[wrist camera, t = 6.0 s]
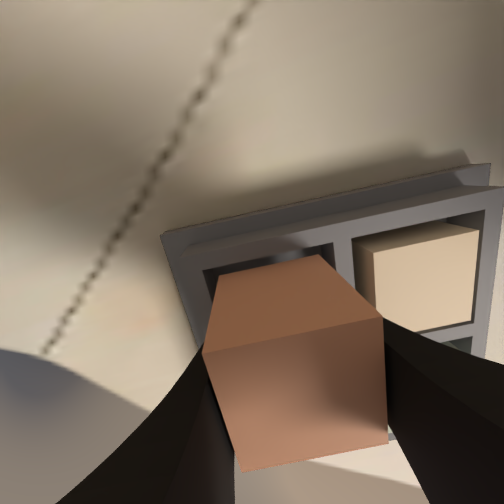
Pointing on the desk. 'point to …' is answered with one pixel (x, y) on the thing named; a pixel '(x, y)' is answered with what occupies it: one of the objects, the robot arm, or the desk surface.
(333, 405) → the terracotta block
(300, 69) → the desk surface
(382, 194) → the frame board
